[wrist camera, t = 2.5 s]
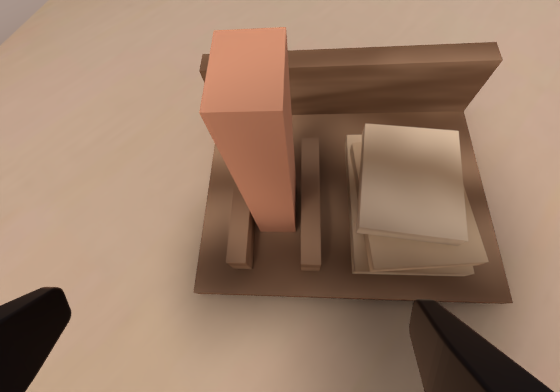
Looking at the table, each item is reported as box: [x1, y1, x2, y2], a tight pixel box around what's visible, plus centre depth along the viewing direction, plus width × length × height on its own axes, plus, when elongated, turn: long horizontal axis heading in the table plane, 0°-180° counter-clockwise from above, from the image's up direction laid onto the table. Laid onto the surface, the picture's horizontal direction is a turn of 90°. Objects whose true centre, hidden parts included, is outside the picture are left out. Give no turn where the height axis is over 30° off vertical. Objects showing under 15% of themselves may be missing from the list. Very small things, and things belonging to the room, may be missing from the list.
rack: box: [194, 42, 513, 304], centre depth 20 cm, size 16×20×6 cm
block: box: [199, 27, 296, 232], centre depth 15 cm, size 4×2×13 cm
